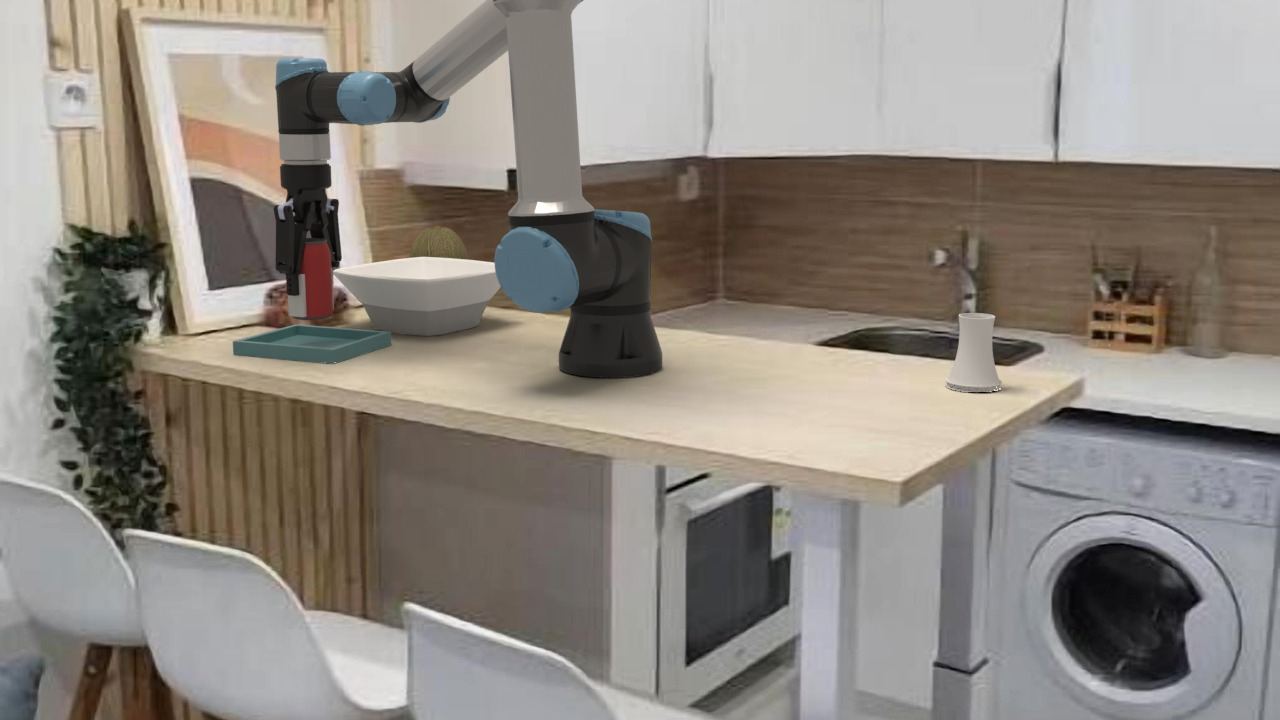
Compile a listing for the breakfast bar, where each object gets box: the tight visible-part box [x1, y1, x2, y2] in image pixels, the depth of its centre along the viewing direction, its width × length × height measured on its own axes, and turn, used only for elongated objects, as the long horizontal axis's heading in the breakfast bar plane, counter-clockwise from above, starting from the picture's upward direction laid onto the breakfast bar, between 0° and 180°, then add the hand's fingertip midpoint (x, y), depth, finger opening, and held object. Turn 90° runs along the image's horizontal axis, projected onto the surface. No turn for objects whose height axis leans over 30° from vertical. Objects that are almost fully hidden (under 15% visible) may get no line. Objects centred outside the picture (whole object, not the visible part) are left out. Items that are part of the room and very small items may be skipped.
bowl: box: [333, 257, 501, 337], centre depth 233 cm, size 24×25×10 cm
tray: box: [232, 323, 392, 364], centre depth 214 cm, size 18×16×2 cm
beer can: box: [290, 237, 334, 321], centre depth 212 cm, size 7×7×12 cm
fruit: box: [408, 225, 470, 260], centre depth 254 cm, size 11×11×15 cm
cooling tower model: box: [944, 312, 1003, 393], centre depth 188 cm, size 8×8×10 cm
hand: (311, 312), depth 213 cm, fingers closed on beer can, 6 cm apart
